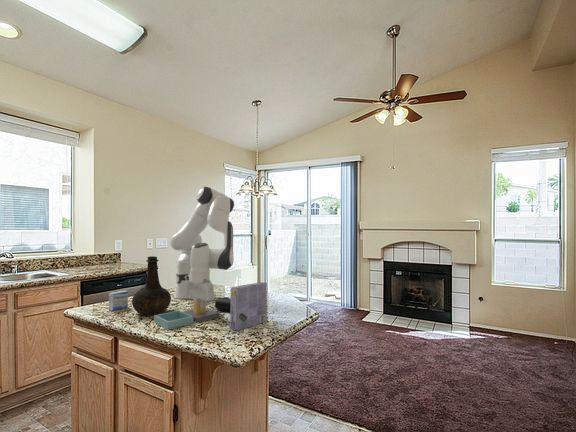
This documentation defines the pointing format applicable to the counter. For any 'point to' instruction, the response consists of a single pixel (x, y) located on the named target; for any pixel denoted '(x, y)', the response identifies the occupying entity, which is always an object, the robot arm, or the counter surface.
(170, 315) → the parts tray
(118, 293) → the medicine box
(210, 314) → the socket block
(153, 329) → the counter surface
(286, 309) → the counter surface
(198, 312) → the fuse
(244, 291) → the cake pan box
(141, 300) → the dark brown vase
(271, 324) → the counter surface
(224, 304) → the end cap
